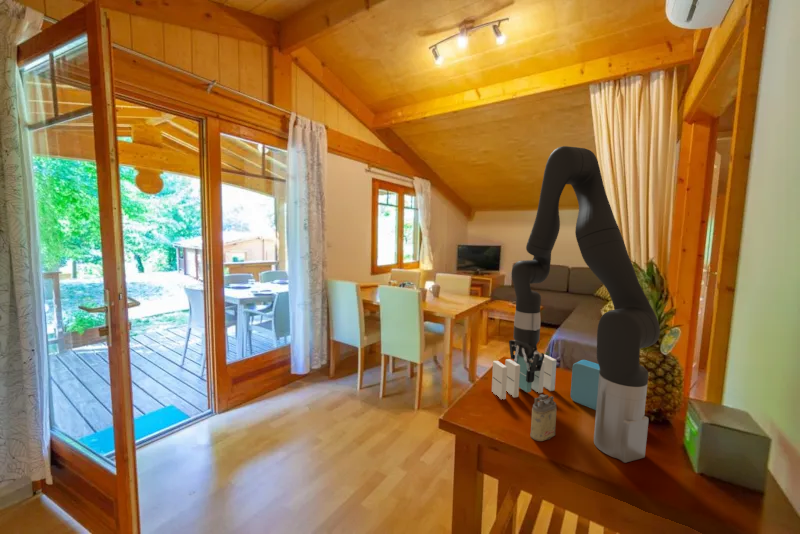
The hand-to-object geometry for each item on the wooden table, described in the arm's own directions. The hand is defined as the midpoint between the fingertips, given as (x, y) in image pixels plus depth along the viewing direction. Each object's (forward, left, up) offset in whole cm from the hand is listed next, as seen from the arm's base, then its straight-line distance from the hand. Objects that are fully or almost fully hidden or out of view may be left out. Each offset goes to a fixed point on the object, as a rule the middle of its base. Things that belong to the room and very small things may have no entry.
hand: (524, 377), depth 106 cm
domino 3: (0, 0, -3) cm, 3 cm away
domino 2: (0, +5, -4) cm, 6 cm away
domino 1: (0, +9, -4) cm, 10 cm away
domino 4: (0, -4, -4) cm, 6 cm away
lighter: (-20, +10, -5) cm, 23 cm away
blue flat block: (-13, -14, -5) cm, 20 cm away
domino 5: (0, -9, -4) cm, 10 cm away
